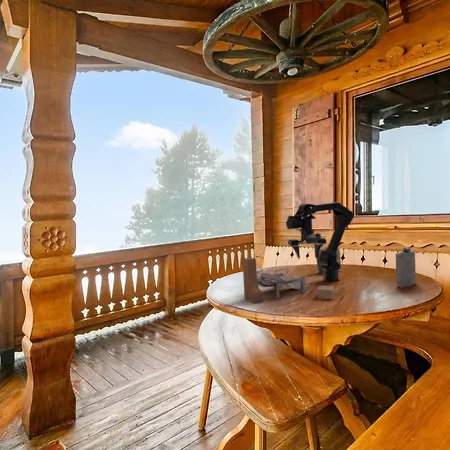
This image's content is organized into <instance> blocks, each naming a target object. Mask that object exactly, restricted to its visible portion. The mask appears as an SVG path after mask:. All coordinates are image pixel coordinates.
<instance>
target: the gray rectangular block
mask: <svg viewBox="0 0 450 450" xmlns="http://www.w3.org/2000/svg"><path fill="white" fill-rule="evenodd" d="M283 278H284V279H286V280H290V279H294V278H295V277H293V276H290V275H284V276H283ZM290 284H292V285H293V286H294V287H295V289H294V290H301V287H300V281H297V282H293V283H290Z"/></svg>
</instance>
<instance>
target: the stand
mask: <svg viewBox="0 0 450 450" xmlns="http://www.w3.org/2000/svg"><path fill="white" fill-rule="evenodd" d="M334 290H335V289H334V285H333V286H332V285H330V286H329V285H318V287H317V299H325V300H333V299H334V295H335V293H334V292H335V291H334Z"/></svg>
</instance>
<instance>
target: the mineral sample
mask: <svg viewBox="0 0 450 450" xmlns="http://www.w3.org/2000/svg"><path fill="white" fill-rule="evenodd" d="M327 248H328V246H327V247H325V248H320V250H319V253H318V256H317V258H315V259H316V266H317V267H316V270H317V274H323V275H324V268H322V265H321V263H320V261H319V259H320V257H319V256H320V255H321V252H322V250H324V251H325V250H326V249H327ZM336 253H337V262H338V263H339V264H340V265H341V267H340V269H338V273H339V272H341V271H342V270H343V268H342V261H341V251H340V249H339V247H338V249H337V252H336Z"/></svg>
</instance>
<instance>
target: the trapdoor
mask: <svg viewBox="0 0 450 450" xmlns="http://www.w3.org/2000/svg"><path fill="white" fill-rule="evenodd" d="M261 277H262V278H265V279H270V280H272V281H273V282H280V281H285V280H286V279H284V276H283V277H281V276H277V275H272V273H271V274H270V273H266V272H264V273H262V274H261ZM281 286H284V287H286V288H290V289H294V290H296V289H295V287H294V286H293V285H292V284H290V283H288V284H284V285H281Z"/></svg>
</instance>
